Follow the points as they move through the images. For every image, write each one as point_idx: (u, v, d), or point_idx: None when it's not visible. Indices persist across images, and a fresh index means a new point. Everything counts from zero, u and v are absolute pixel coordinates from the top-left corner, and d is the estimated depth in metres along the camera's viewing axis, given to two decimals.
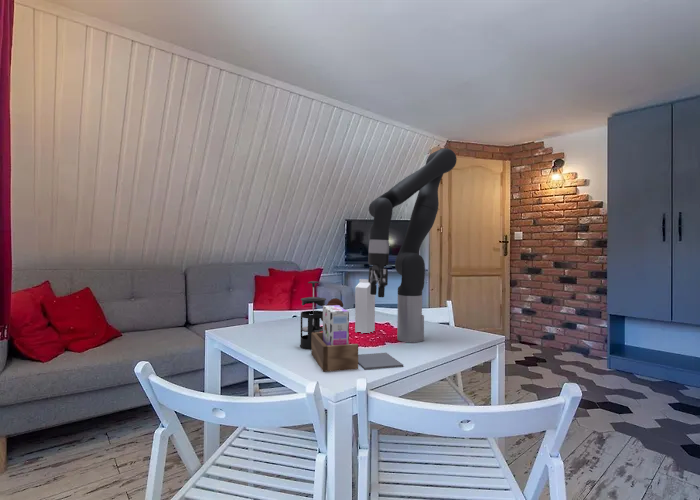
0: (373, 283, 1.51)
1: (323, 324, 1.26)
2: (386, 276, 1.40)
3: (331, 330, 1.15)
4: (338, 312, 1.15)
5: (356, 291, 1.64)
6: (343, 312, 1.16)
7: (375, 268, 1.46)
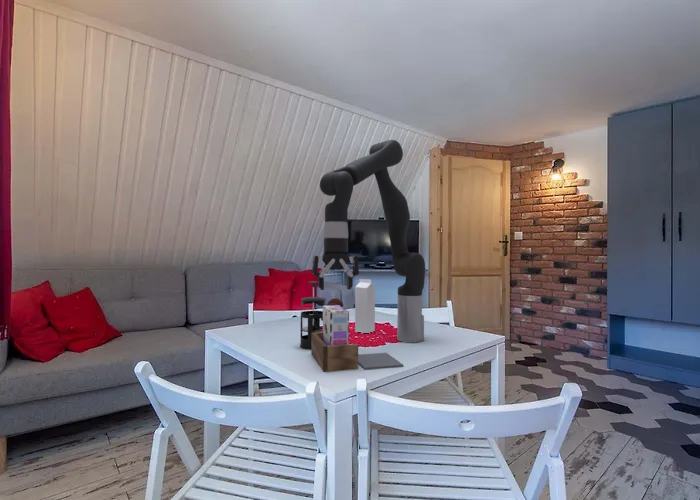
0: None
1: (323, 324, 1.26)
2: None
3: (331, 330, 1.15)
4: (338, 312, 1.15)
5: (356, 291, 1.63)
6: (343, 312, 1.16)
7: (337, 256, 1.21)
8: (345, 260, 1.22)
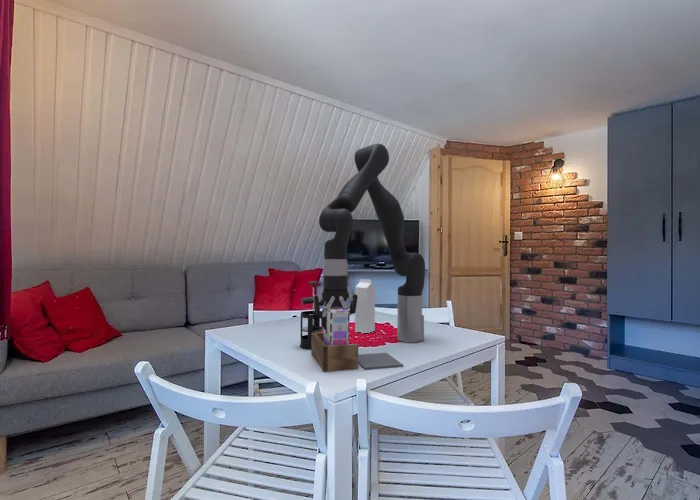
0: None
1: None
2: None
3: (331, 330, 1.15)
4: (338, 312, 1.15)
5: (356, 291, 1.63)
6: (343, 312, 1.16)
7: (336, 293, 1.21)
8: (344, 297, 1.22)
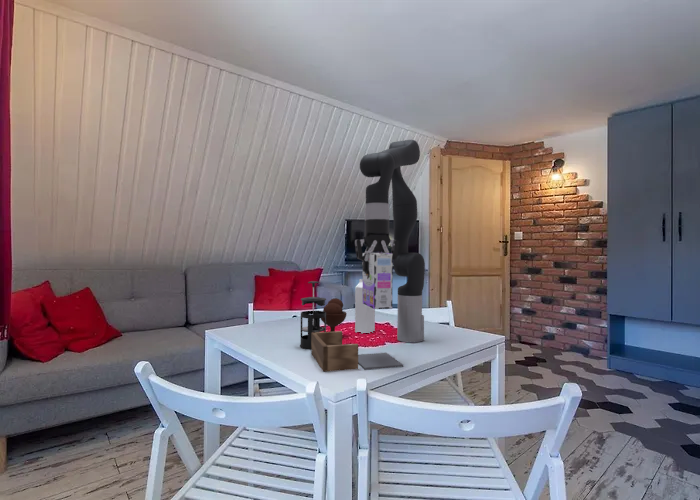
0: None
1: None
2: None
3: (375, 272, 1.14)
4: (382, 254, 1.15)
5: (356, 291, 1.63)
6: (387, 254, 1.15)
7: (378, 238, 1.20)
8: (386, 242, 1.21)
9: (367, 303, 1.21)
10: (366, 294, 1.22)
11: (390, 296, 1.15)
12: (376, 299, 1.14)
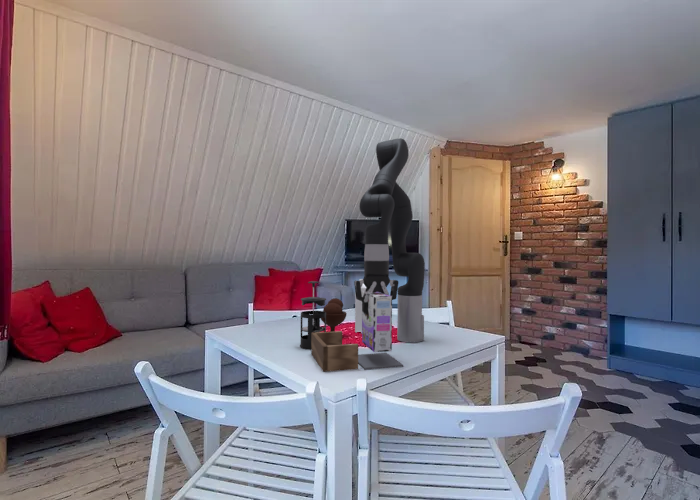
0: None
1: None
2: None
3: (375, 315, 1.14)
4: (381, 297, 1.15)
5: None
6: (386, 297, 1.15)
7: (378, 279, 1.20)
8: (385, 282, 1.21)
9: (366, 343, 1.21)
10: (365, 334, 1.22)
11: (389, 339, 1.15)
12: (375, 342, 1.14)
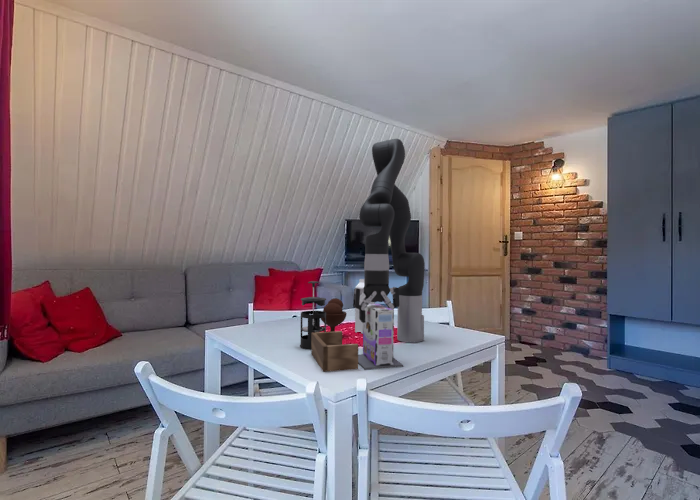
0: None
1: None
2: None
3: (376, 328, 1.14)
4: (383, 310, 1.15)
5: None
6: (388, 310, 1.15)
7: (378, 288, 1.20)
8: (386, 292, 1.21)
9: (368, 356, 1.21)
10: (367, 347, 1.22)
11: (391, 352, 1.15)
12: (377, 356, 1.14)
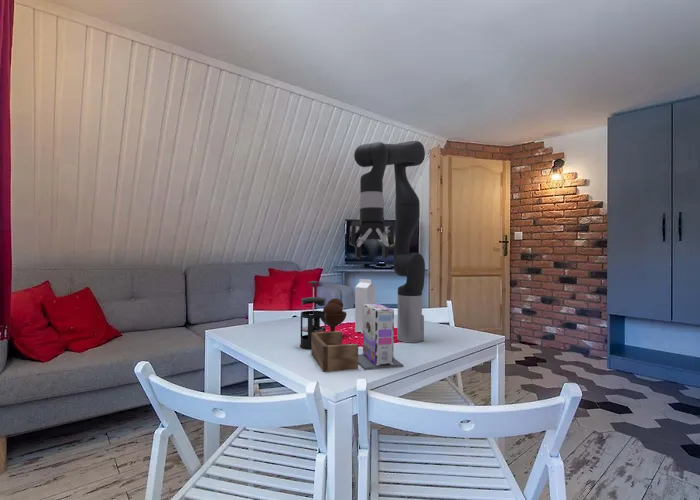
0: None
1: (364, 322, 1.25)
2: None
3: (376, 328, 1.14)
4: (383, 310, 1.15)
5: (356, 291, 1.63)
6: (388, 310, 1.15)
7: (373, 226, 1.23)
8: (381, 230, 1.24)
9: (368, 356, 1.21)
10: (367, 347, 1.22)
11: (391, 352, 1.15)
12: (377, 356, 1.14)
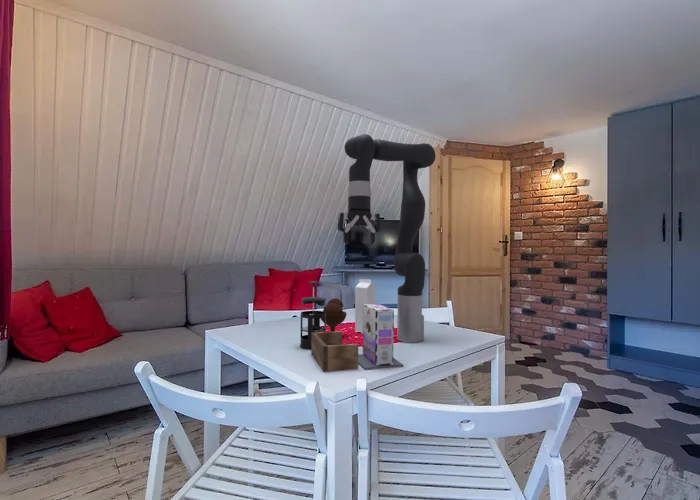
0: None
1: (364, 322, 1.25)
2: None
3: (376, 328, 1.14)
4: (383, 310, 1.15)
5: (356, 291, 1.63)
6: (388, 310, 1.15)
7: (360, 213, 1.31)
8: (368, 217, 1.32)
9: (368, 356, 1.21)
10: (367, 347, 1.22)
11: (391, 352, 1.15)
12: (377, 356, 1.14)
